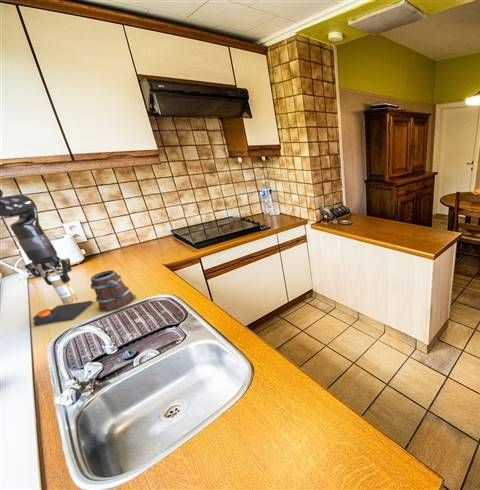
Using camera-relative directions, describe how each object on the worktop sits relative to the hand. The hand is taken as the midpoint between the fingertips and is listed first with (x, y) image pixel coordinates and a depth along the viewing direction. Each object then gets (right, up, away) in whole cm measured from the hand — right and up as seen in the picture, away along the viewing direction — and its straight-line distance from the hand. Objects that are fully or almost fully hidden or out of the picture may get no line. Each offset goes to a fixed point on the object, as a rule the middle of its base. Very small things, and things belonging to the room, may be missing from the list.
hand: (59, 283), depth 111 cm
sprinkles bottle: (0, -9, +4) cm, 10 cm away
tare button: (-4, -13, -1) cm, 14 cm away
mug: (+18, -11, +8) cm, 23 cm away
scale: (-1, -14, +3) cm, 14 cm away
